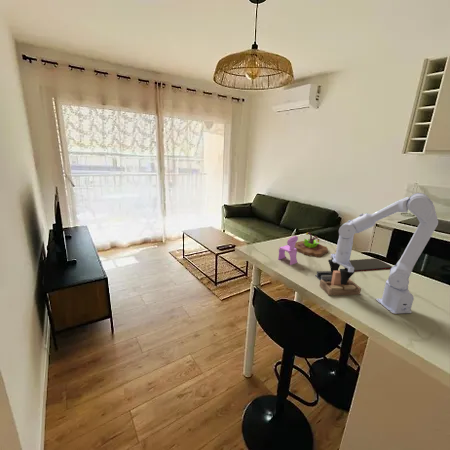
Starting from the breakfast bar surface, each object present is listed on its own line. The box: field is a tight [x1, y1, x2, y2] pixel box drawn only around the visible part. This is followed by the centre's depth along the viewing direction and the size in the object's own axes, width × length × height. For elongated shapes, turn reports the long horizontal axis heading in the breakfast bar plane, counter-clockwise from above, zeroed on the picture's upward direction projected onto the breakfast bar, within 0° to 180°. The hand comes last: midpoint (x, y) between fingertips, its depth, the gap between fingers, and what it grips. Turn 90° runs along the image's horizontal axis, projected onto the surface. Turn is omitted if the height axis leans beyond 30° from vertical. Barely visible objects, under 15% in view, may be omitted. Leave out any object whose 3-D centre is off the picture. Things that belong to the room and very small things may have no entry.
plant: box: [295, 232, 329, 258], centre depth 153 cm, size 20×20×11 cm
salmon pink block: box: [331, 269, 341, 285], centre depth 109 cm, size 2×5×8 cm, turn 97°
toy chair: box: [277, 235, 299, 266], centre depth 134 cm, size 8×9×15 cm
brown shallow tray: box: [319, 278, 362, 296], centre depth 108 cm, size 8×14×3 cm, turn 97°
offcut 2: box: [342, 285, 356, 290], centre depth 107 cm, size 2×5×3 cm, turn 97°
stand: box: [314, 270, 332, 282], centre depth 118 cm, size 6×9×2 cm, turn 97°
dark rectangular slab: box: [350, 258, 393, 273], centre depth 135 cm, size 12×2×25 cm
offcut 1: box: [329, 285, 343, 290], centre depth 106 cm, size 2×5×3 cm, turn 97°
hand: (338, 279), depth 109 cm, fingers open, 7 cm apart
